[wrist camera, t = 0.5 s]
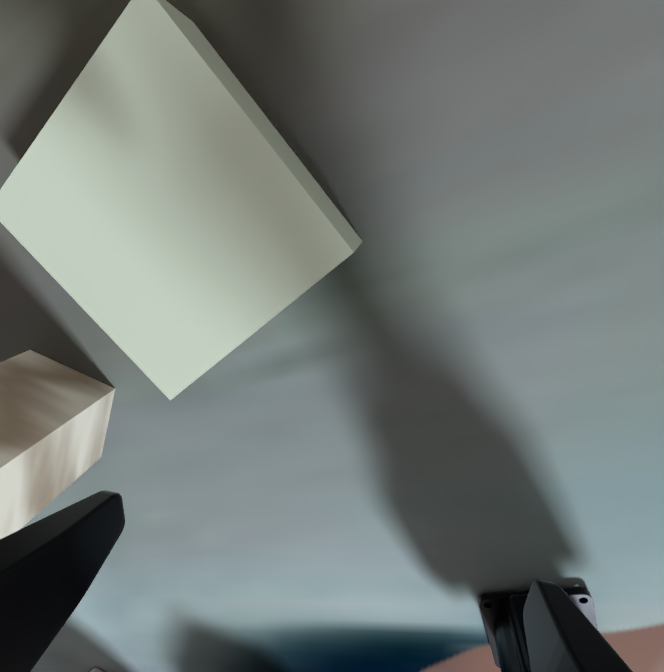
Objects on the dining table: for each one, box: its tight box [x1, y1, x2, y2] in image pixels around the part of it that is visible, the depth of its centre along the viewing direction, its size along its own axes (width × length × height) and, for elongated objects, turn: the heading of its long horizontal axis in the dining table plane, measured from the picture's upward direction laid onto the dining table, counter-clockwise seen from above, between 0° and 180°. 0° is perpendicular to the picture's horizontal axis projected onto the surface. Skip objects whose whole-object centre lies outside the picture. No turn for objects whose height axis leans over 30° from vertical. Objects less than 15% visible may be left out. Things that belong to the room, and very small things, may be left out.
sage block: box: [0, 0, 363, 400], centre depth 19 cm, size 12×12×4 cm
